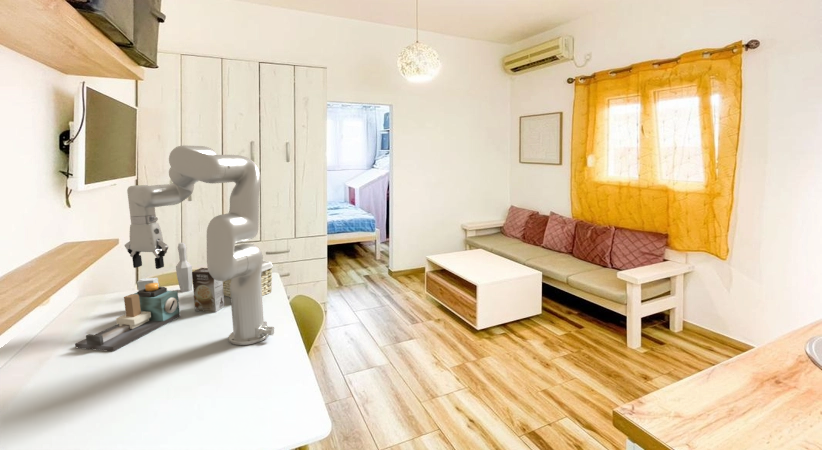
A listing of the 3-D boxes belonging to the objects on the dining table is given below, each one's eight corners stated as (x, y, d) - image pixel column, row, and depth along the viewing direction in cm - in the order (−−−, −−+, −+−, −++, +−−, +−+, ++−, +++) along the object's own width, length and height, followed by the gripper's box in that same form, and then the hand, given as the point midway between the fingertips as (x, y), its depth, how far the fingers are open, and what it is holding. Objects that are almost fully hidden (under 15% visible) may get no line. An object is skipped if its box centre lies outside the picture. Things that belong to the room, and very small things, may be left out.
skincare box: (162, 305, 162) (159, 277, 160) (157, 309, 157) (153, 280, 155) (145, 306, 160) (142, 277, 159) (140, 310, 156) (136, 281, 154)
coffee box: (194, 311, 155) (190, 271, 152) (204, 305, 161) (200, 267, 159) (216, 312, 154) (212, 272, 152) (225, 306, 160) (222, 268, 158)
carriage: (151, 321, 141) (148, 293, 140) (135, 329, 134) (131, 299, 133) (134, 319, 142) (131, 292, 141) (117, 327, 136) (113, 298, 134)
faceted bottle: (175, 290, 180) (170, 243, 176) (189, 287, 185) (185, 241, 181) (182, 293, 176) (177, 245, 173) (196, 289, 181) (192, 242, 178)
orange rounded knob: (161, 288, 147) (160, 283, 147) (152, 291, 143) (151, 286, 143) (151, 287, 148) (151, 282, 147) (142, 291, 144) (142, 285, 143)
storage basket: (276, 292, 177) (274, 260, 175) (246, 304, 163) (243, 269, 161) (240, 285, 189) (237, 254, 186) (208, 295, 174) (205, 262, 172)
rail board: (182, 316, 150) (179, 287, 148) (116, 351, 123) (111, 315, 121) (147, 314, 152) (144, 285, 150) (75, 347, 125) (70, 313, 123)
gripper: (173, 219, 143) (177, 265, 146) (131, 218, 146) (136, 263, 149) (156, 222, 136) (162, 271, 139) (113, 221, 139) (119, 269, 141)
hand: (148, 267), depth 144 cm, fingers open, 8 cm apart
